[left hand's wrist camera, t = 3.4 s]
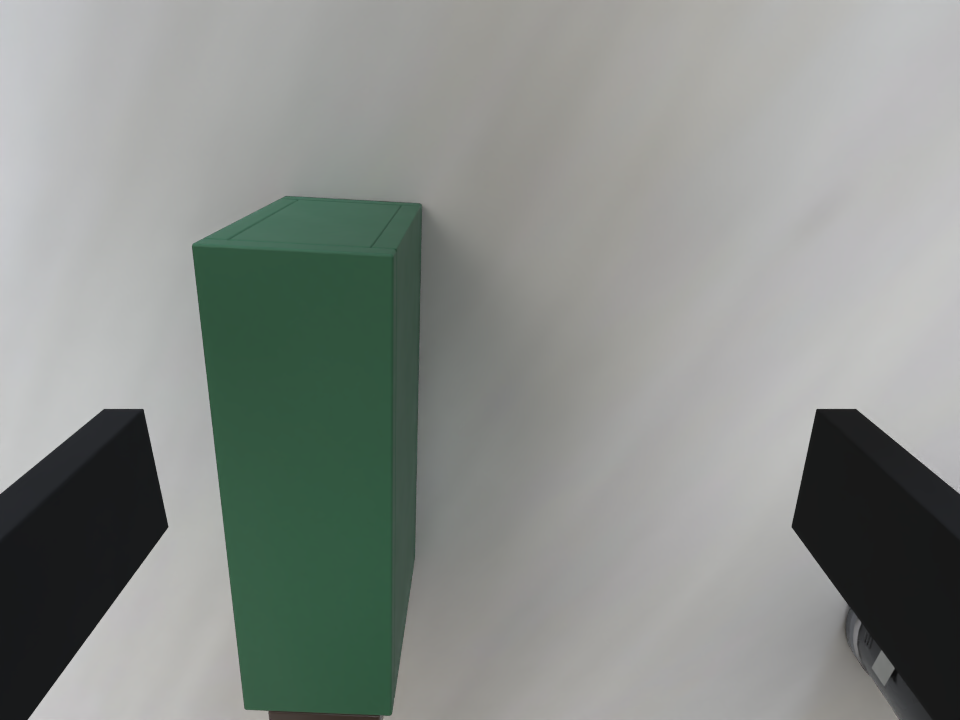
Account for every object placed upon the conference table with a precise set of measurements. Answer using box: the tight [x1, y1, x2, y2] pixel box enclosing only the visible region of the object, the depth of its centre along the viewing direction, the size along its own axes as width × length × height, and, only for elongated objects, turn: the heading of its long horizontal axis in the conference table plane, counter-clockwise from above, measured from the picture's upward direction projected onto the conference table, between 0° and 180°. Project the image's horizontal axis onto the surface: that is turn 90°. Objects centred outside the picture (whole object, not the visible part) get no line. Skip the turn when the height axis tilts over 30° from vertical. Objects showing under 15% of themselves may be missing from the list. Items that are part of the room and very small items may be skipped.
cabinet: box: [192, 196, 422, 716], centre depth 27 cm, size 19×6×10 cm, turn 177°
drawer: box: [269, 711, 383, 720], centre depth 29 cm, size 23×5×8 cm, turn 177°
